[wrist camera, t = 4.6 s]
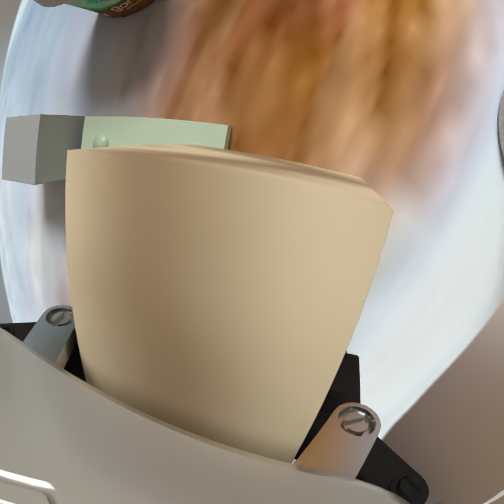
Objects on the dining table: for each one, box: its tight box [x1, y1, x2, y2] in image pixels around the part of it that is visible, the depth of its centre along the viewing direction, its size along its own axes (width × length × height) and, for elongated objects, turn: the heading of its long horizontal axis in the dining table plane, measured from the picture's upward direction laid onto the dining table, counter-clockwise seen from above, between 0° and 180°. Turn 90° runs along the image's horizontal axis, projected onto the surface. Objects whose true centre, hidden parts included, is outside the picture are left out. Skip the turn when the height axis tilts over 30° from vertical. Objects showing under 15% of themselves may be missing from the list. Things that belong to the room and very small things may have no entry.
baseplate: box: [81, 116, 232, 150], centre depth 25 cm, size 14×14×1 cm
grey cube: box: [2, 114, 85, 185], centre depth 23 cm, size 6×6×6 cm
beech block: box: [65, 144, 393, 464], centre depth 10 cm, size 6×12×6 cm, turn 170°
